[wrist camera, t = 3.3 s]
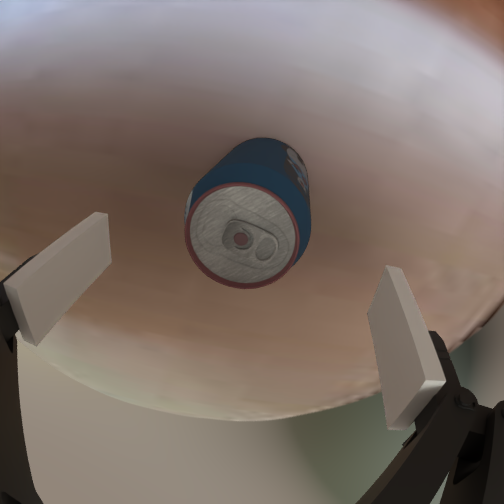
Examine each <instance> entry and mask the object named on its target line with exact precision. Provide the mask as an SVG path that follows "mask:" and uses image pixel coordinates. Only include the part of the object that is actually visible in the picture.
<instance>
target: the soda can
mask: <svg viewBox="0 0 504 504" xmlns="http://www.w3.org/2000/svg"><path fill="white" fill-rule="evenodd" d="M184 220H185V241H186V245H187V249H188V251H189V253H190V256H191V257H192V259H193V261H194V262H195V264H196V265H197V266H198V268H199V269H200V270H201V271H202V272H203V273H204V274H206V275H207V276H208V277H210V278H211V279H213V280H215V281H216V282H219V283H221V284H223V285H226V286H229V287H234V288H240V289H253V288H259V287H263V286H266V285H269V284H271V283H273V282H275V281H277V280H278V279H280V278H281V277H282V276H283V275H285V274H286V273H287V271H288V270H289V269H290V268H291V267H292V266H293V265H294V264H295V263H296V262H297V261H298V260H299V259H300V257H301V256H302V254H303V253H304V251H305V249H306V247H307V245H308V242H309V238H310V233H311V215H310V200H309V187H308V175H307V170H306V167H305V165H304V163H303V161H302V159H301V158H300V156H299V155H298V154H297V153H296V152H295V151H294V150H293V149H292V148H291V147H289V146H288V145H286V144H285V143H283V142H280V141H278V140H275V139H270V138H256V139H251V140H248V141H245V142H243V143H241V144H240V145H238V146H237V147H235V148H234V149H233V150H232V151H231V152H230V153H229V154H228V155H226V156H225V157H224V158H223V159H222V160H221V161H220V162H219V163H218V164H217V165H216V166H215V167H213V168H212V169H211V170H210V171H209V172H208V173H207V174H206V175H205V176H204V177H203V178H202V179H201V180H200V181H199V182H198V183H197V184H196V185H195V187H194V188H193V190H192V191H191V193H190V195H189V198H188V200H187V203H186V208H185V216H184Z"/></svg>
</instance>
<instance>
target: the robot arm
mask: <svg viewBox="0 0 504 504" xmlns="http://www.w3.org/2000/svg"><path fill="white" fill-rule="evenodd" d="M111 263H112V259H111V249H110V237H109V224H108V214H106V213H100V212H94V213H93V214H91V215H90V216H89V217H87V218H86V219H84V220H83V221H81V222H80V223H79V224H77V225H76V226H75V227H73V228H72V229H70V230H69V231H68V232H66V233H65V234H64V235H62V236H61V237H60V238H58V239H57V240H56V241H54V242H53V243H52V244H51V245H49V246H48V247H47V248H45V249H44V250H43V251H42V252H40V253H38V254H36V255H34V256H32V257H30V258H29V259H27V260H26V261H25V262H24V263H22V265H20V266H19V267H18V268H17V269H16V270H14V271H13V272H12V273H10V274H9V275H8V276H7V277H6V278H5V279H3V280H2V281H1V282H0V504H43V502H42V500H41V499H40V497H39V496H38V494H37V492H36V490H35V488H34V484H33V480H32V476H31V472H30V467H29V462H28V457H27V451H26V446H25V440H24V433H23V426H22V418H21V409H20V399H19V386H18V368H17V367H18V366H17V339H16V336H15V333H16V332H17V331H18V330H20V332H21V335H22V337H23V339H24V341H27V342H29V343H31V344H33V345H35V346H37V345H38V344H39V343H40V342H41V341H42V339H43V338H44V337H45V336H46V335H47V333H48V332H49V331H50V330H51V329H52V328H53V326H54V325H55V324H56V323H57V322H58V321H59V320H60V318H61V317H62V316H63V315H64V314H65V313H66V312H67V310H68V309H69V308H70V307H71V306H72V305H73V304H74V303H75V301H76V300H77V299H78V298H79V297H80V296H81V295H82V294H83V293H84V292H85V291H86V289H87V288H88V287H89V286H90V285H91V284H92V283H93V282H94V281H95V280H96V279H97V278H98V277H99V276H100V275H101V273H102V272H103V271H104V270H105V269H106V268H107V267H108V266H109V265H110V264H111ZM367 315H368V320H369V324H370V329H371V334H372V339H373V344H374V349H375V354H376V359H377V365H378V371H379V376H380V382H381V388H382V395H383V401H384V408H385V415H386V422H387V429H388V430H406V429H407V428H408V427H409V426H410V425H411V424H412V423H413V422H414V421H415V426H416V430H415V431H414V433H413V434H412V435H411V436H410V437H409V438H408V439H407V440H406V441H405V442H404V443H403V444H402V445H403V448H402V449H401V450H400V451H399V453H398V454H397V456H396V457H395V458H394V459H393V461H392V462H391V463H390V464H389V466H388V467H387V468H386V470H385V471H384V472H383V473H382V474H381V476H380V477H379V478H378V479H377V480H376V481H375V483H374V484H373V485H372V486H371V487H370V488H369V490H368V491H367V492H366V493H365V494H364V495H363V496H362V497H361V498H360V500H359V501H358V502H357V503H356V504H430V502H431V501H432V499H433V498H434V496H435V495H436V493H437V491H438V489H439V488H440V486H441V485H442V483H443V481H444V479H445V477H446V476H447V474H448V472H449V474H448V478H447V481H446V485H445V488H444V491H443V494H442V498H441V501H440V504H504V401H500V402H499V403H498V404H497V405H496V406H495V407H494V408H493V409H492V408H488V407H485V406H482V405H479V404H478V402H477V399H476V397H475V396H474V394H473V393H472V392H471V391H469V390H468V389H466V388H464V387H461V386H460V383H459V380H458V377H457V374H456V372H455V369H454V366H453V364H452V361H451V360H450V356H449V353H448V352H447V348H446V346H445V343H444V341H443V340H442V338H441V337H440V336H439V335H438V334H437V333H436V331H428V329H427V327H426V324H425V322H424V320H423V317H422V315H421V312H420V310H419V307H418V305H417V303H416V300H415V298H414V296H413V294H412V291H411V289H410V287H409V285H408V282H407V280H406V278H405V276H404V274H403V271H402V269H401V268H398V267H393V266H388V265H386V267H385V269H384V272H383V275H382V277H381V280H380V283H379V285H378V288H377V290H376V293H375V295H374V298H373V300H372V303H371V305H370V308H369V310H368V313H367Z"/></svg>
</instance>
